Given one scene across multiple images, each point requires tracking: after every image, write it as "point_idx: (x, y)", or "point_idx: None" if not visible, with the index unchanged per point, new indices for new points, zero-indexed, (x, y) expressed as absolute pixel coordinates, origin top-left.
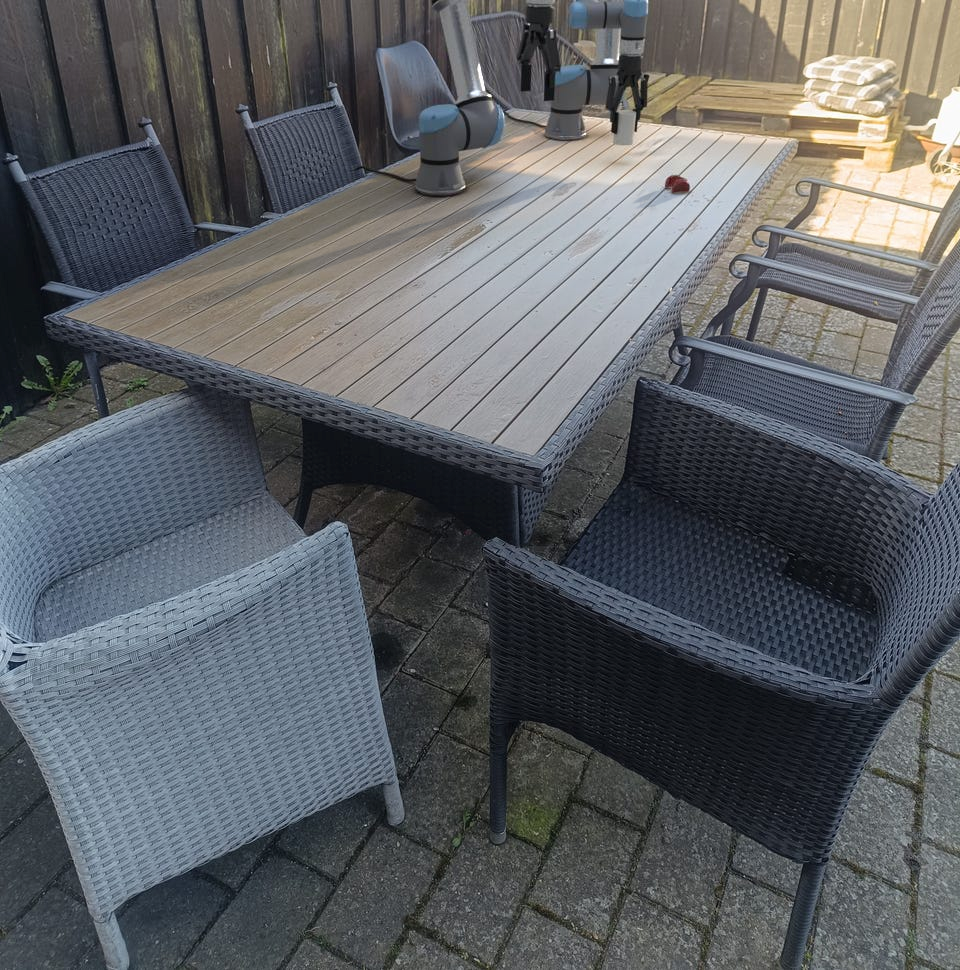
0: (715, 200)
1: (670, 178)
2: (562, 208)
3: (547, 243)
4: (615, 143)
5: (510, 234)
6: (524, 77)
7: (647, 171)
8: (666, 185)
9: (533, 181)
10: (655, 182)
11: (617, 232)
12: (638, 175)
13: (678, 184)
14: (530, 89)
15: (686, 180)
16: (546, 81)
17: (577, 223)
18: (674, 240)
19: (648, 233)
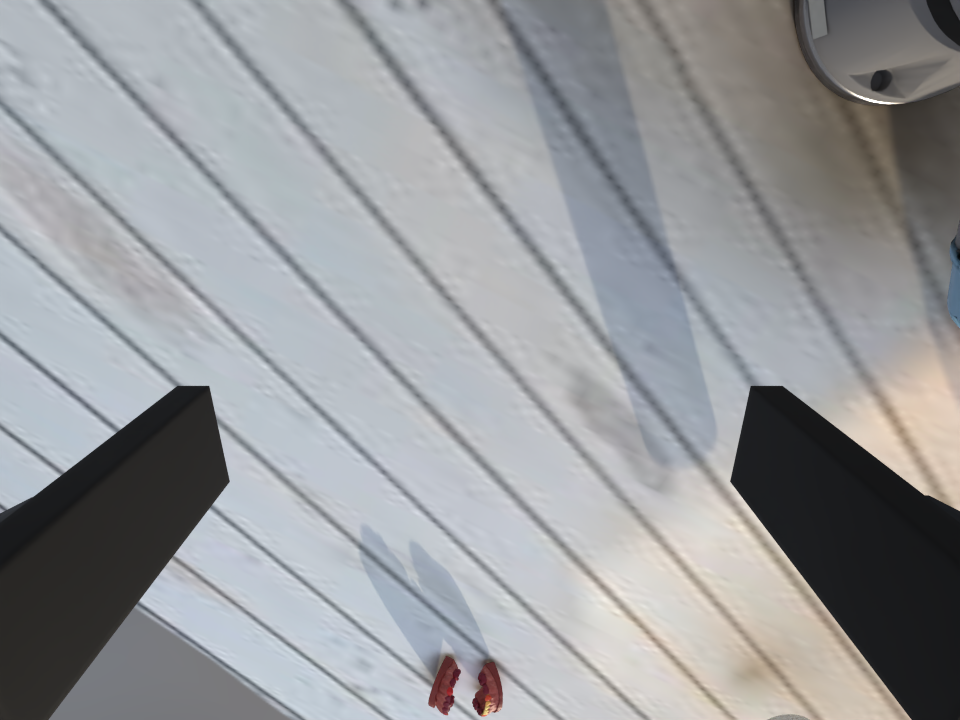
0: (353, 700)
1: (485, 691)
2: (446, 338)
3: (111, 110)
4: (785, 717)
5: (237, 15)
6: (838, 502)
7: (647, 692)
8: (487, 667)
9: None
10: (550, 664)
11: (172, 378)
12: (628, 661)
13: (434, 683)
14: (738, 488)
15: (439, 710)
16: (13, 525)
17: (286, 309)
18: None
19: None
